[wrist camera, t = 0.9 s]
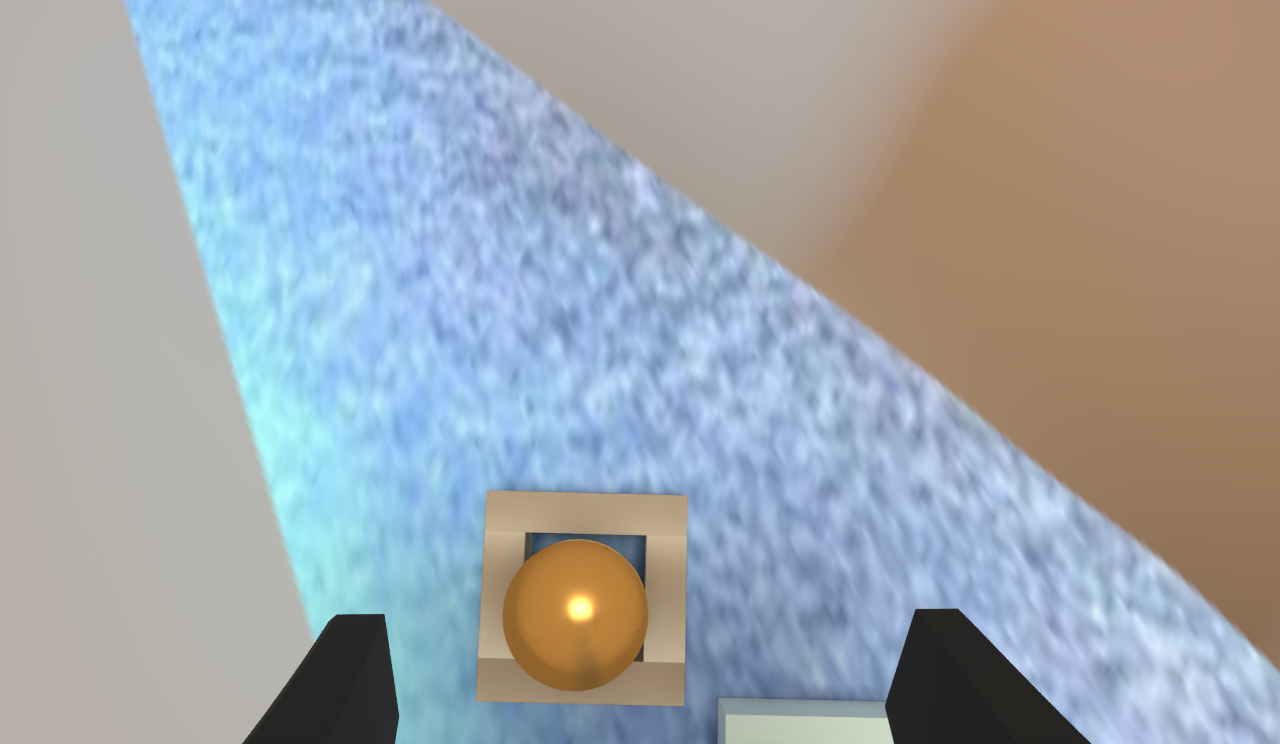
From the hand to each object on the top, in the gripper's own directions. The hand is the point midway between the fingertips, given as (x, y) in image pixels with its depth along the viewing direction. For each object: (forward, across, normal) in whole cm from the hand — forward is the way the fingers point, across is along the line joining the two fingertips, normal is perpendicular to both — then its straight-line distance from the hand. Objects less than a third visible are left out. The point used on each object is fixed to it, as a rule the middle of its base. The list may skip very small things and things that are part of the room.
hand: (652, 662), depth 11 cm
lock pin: (+11, +1, +10) cm, 15 cm away
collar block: (+11, +1, +10) cm, 15 cm away
